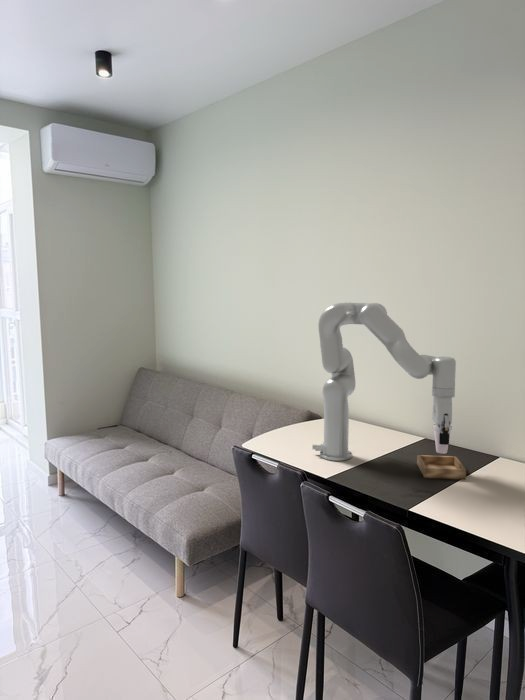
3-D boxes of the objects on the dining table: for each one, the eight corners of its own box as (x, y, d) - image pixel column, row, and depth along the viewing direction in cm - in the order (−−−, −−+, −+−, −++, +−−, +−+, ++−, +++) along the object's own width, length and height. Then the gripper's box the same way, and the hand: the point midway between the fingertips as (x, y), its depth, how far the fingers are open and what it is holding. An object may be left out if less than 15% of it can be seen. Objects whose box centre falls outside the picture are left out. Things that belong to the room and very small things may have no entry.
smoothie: (452, 455, 177) (454, 416, 175) (433, 454, 178) (434, 415, 177) (449, 449, 183) (451, 411, 182) (431, 448, 185) (432, 411, 183)
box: (423, 477, 176) (424, 468, 175) (416, 464, 190) (417, 455, 189) (465, 479, 174) (466, 469, 174) (455, 465, 188) (456, 456, 187)
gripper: (427, 387, 187) (426, 434, 189) (437, 396, 170) (436, 448, 172) (448, 387, 186) (447, 434, 188) (460, 397, 169) (459, 449, 171)
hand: (441, 440), depth 180 cm, fingers closed on smoothie, 6 cm apart
